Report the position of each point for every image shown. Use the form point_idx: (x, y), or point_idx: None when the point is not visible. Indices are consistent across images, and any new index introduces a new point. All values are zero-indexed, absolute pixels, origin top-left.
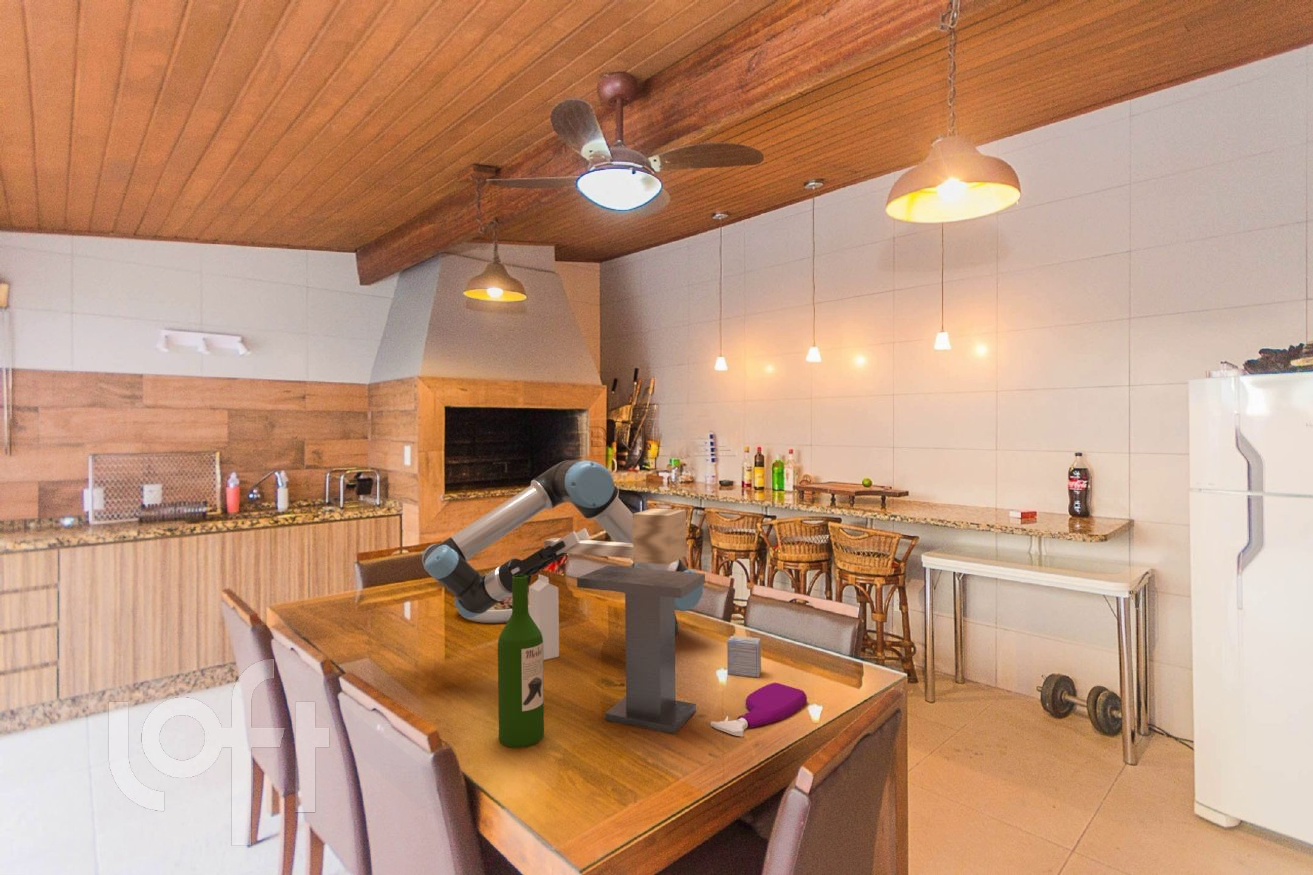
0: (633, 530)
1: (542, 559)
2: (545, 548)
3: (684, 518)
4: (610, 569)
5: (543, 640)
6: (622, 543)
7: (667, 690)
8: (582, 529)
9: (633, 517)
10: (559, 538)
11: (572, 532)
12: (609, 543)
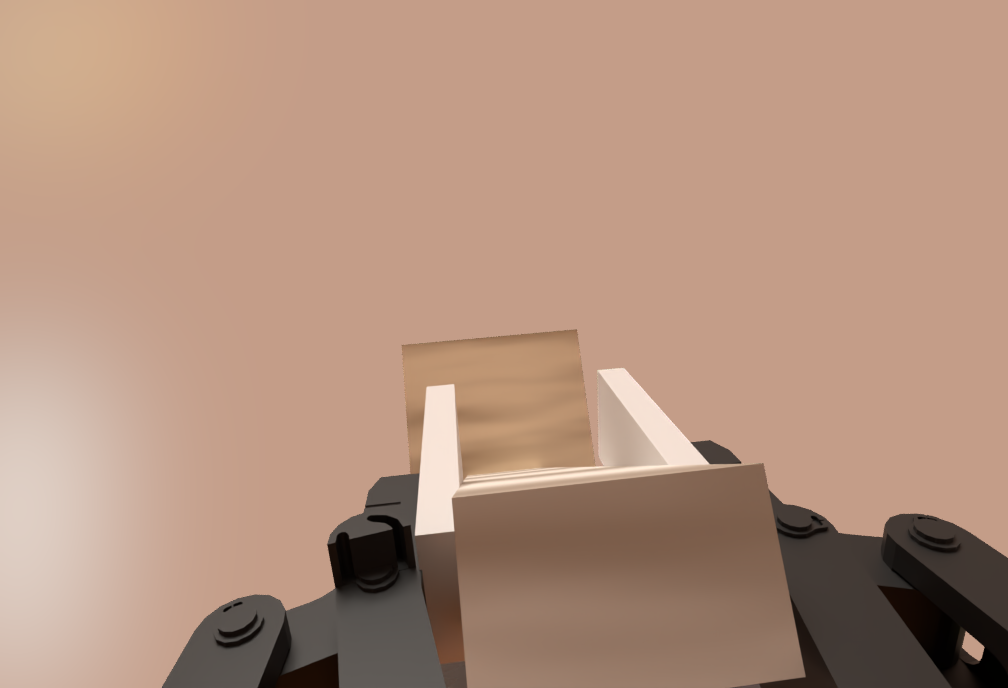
0: (584, 389)
1: (975, 672)
2: (845, 548)
3: None
4: (445, 679)
5: None
6: (490, 474)
7: None
8: (453, 392)
9: (577, 342)
10: (480, 490)
11: (625, 375)
12: (517, 472)
